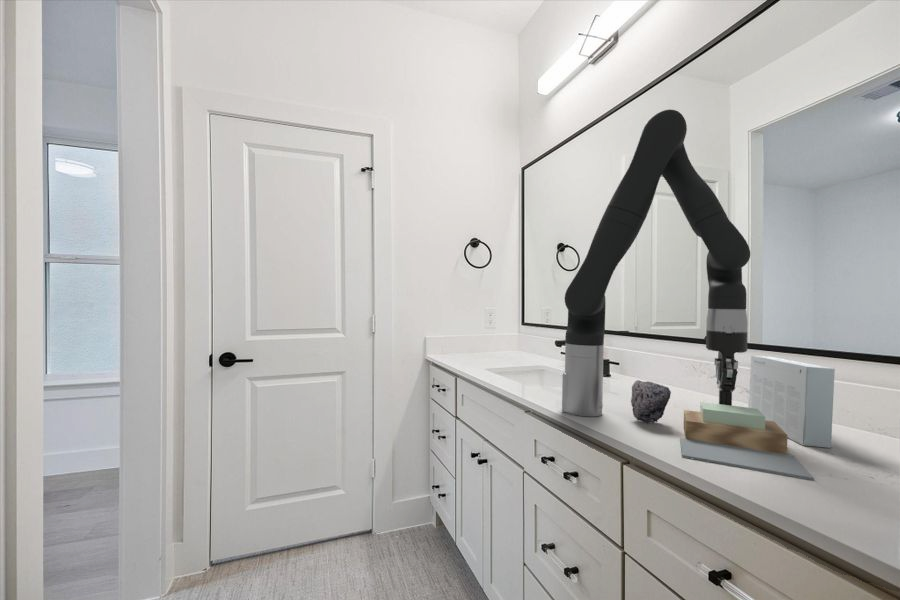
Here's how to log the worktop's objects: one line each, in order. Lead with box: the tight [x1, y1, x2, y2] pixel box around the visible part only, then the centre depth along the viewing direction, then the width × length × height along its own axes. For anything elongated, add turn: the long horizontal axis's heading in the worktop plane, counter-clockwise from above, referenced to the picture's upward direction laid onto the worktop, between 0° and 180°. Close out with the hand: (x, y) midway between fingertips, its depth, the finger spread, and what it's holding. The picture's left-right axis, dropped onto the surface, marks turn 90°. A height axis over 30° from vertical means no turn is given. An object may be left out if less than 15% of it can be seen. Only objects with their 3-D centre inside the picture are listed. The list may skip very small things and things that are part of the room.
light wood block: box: [683, 409, 788, 455], centre depth 81 cm, size 16×10×4 cm, turn 62°
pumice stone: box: [630, 380, 672, 424], centre depth 93 cm, size 10×8×10 cm
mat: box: [679, 437, 815, 481], centre depth 72 cm, size 18×11×1 cm, turn 62°
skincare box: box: [747, 355, 836, 449], centre depth 89 cm, size 21×5×16 cm, turn 168°
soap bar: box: [699, 401, 765, 430], centre depth 81 cm, size 10×7×2 cm
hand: (725, 407), depth 88 cm, fingers closed
